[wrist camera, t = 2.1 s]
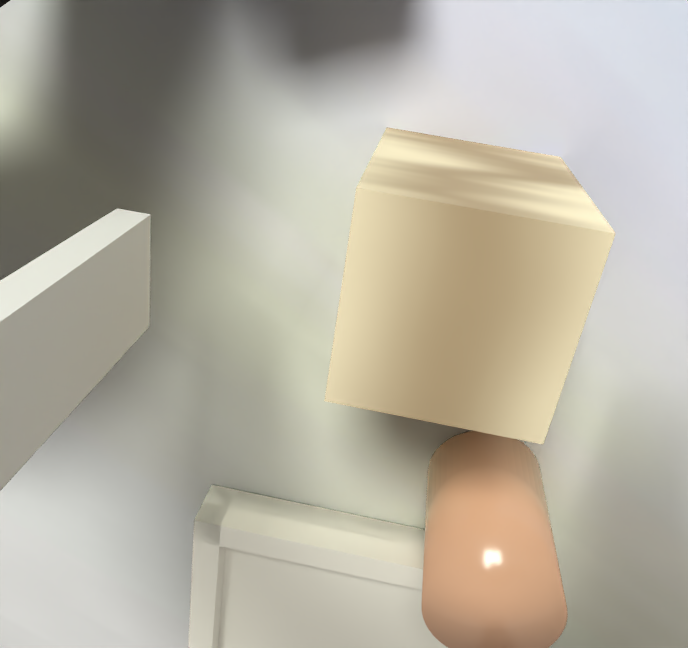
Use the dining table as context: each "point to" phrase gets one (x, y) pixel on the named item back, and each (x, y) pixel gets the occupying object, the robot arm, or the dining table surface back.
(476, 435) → the peach capsule
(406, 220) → the birch block
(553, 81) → the dining table surface
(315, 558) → the tray
